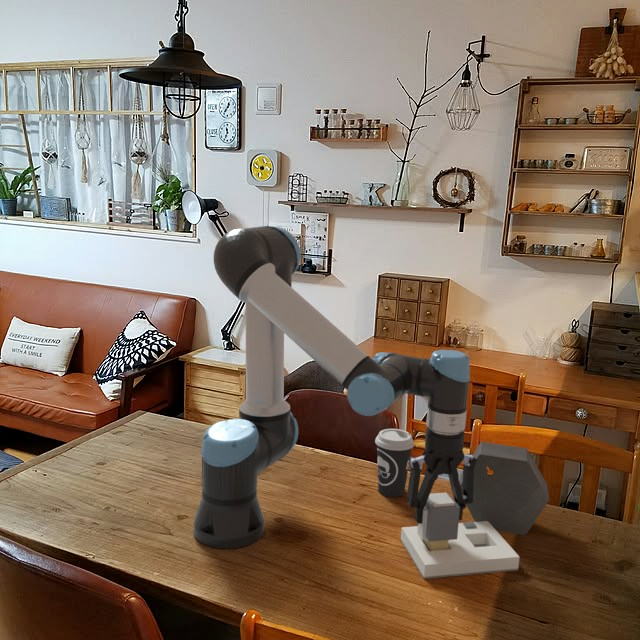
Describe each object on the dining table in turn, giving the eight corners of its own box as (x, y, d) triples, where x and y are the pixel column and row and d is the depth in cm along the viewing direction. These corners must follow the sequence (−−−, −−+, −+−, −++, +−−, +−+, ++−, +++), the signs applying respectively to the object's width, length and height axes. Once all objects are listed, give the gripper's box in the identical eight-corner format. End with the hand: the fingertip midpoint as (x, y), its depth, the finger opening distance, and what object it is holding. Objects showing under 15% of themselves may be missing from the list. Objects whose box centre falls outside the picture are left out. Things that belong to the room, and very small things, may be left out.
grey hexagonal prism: (558, 505, 146) (514, 427, 146) (561, 521, 139) (515, 439, 139) (491, 531, 152) (448, 455, 152) (490, 548, 145) (445, 469, 144)
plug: (427, 555, 128) (431, 506, 126) (417, 539, 134) (420, 492, 132) (455, 552, 130) (460, 504, 127) (444, 537, 135) (448, 490, 133)
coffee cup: (409, 502, 155) (413, 444, 152) (369, 497, 157) (373, 439, 154) (411, 485, 164) (415, 429, 161) (374, 480, 166) (377, 425, 163)
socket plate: (423, 578, 125) (425, 563, 124) (400, 540, 138) (401, 525, 138) (518, 570, 129) (519, 554, 128) (486, 533, 142) (488, 519, 142)
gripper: (405, 438, 121) (398, 549, 126) (498, 433, 125) (488, 541, 130) (393, 423, 128) (387, 529, 133) (481, 420, 132) (472, 522, 137)
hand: (437, 535), depth 131 cm, fingers closed on plug, 6 cm apart
